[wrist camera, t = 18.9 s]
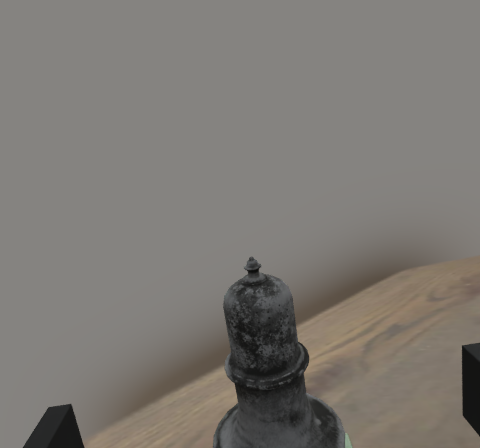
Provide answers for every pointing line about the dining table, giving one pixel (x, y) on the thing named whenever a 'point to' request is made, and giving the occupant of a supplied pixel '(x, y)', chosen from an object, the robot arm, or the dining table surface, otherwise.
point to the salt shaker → (270, 372)
